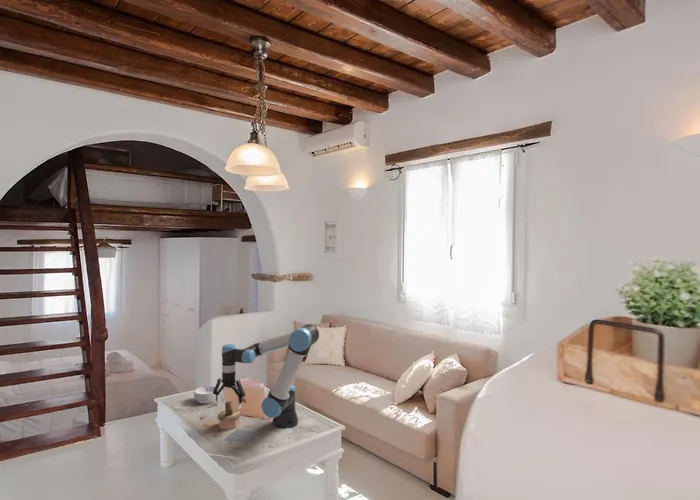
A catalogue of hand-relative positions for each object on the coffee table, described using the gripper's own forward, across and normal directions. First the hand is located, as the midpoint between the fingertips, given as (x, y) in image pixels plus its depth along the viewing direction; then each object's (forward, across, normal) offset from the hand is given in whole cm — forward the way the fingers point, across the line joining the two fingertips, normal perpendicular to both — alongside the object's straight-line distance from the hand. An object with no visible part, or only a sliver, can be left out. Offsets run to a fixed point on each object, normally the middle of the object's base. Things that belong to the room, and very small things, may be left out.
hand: (228, 407), depth 251 cm
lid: (+5, 0, 0) cm, 5 cm away
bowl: (+11, 0, 0) cm, 11 cm away
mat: (+11, -14, +10) cm, 21 cm away
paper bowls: (+11, +36, -30) cm, 48 cm away
